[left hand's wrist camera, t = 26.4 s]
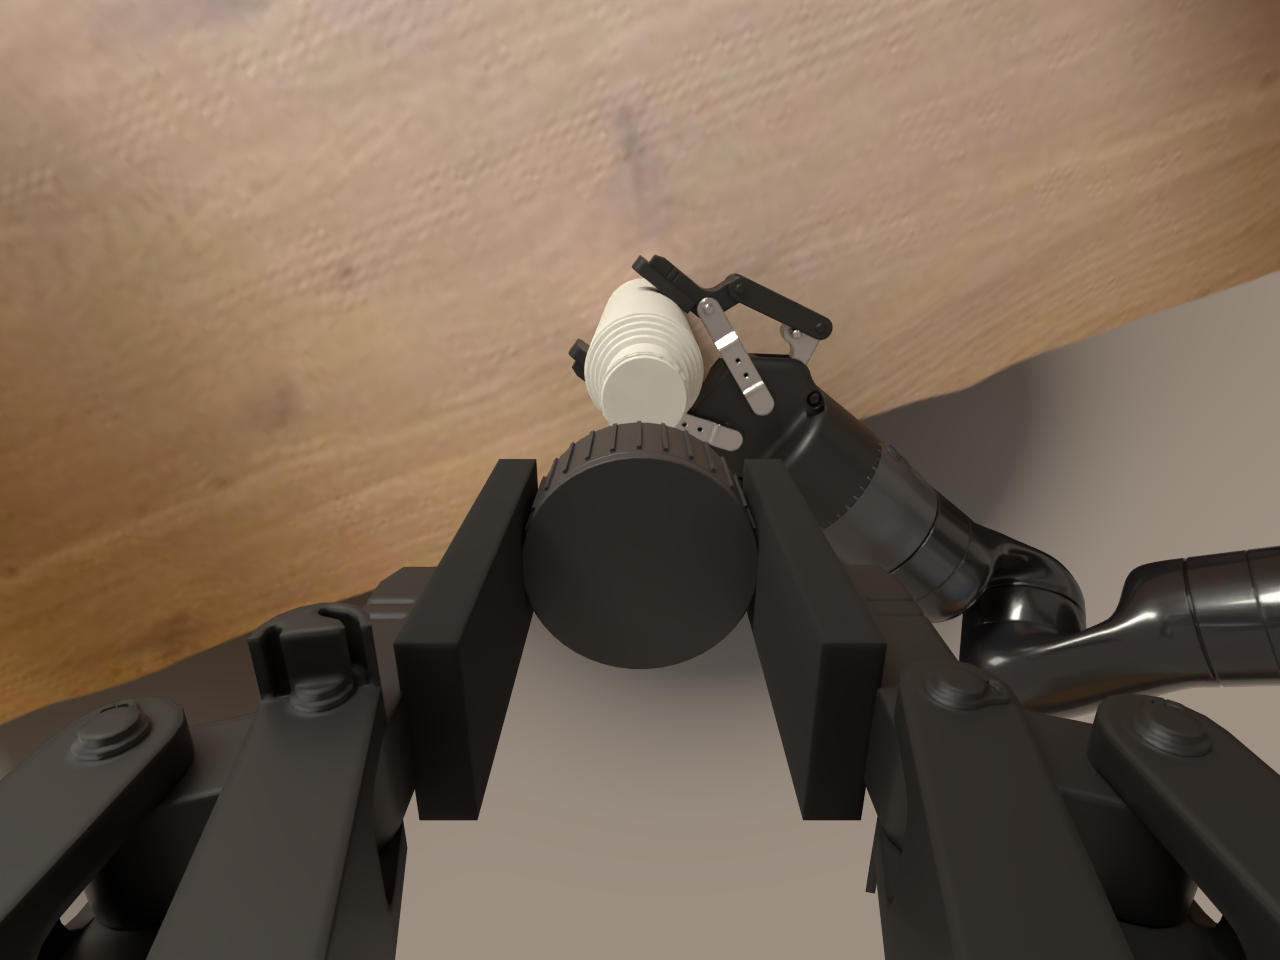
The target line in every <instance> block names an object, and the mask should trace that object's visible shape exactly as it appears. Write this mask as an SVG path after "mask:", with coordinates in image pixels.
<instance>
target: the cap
mask: <svg viewBox="0 0 1280 960" xmlns="http://www.w3.org/2000/svg"><path fill="white" fill-rule="evenodd" d="M755 530H756V526H755V524H754V521H753V518H752V516H751V513H750V510H749V507H748V504H747V502H746V499H745V496H744V494H743V491H742V488H741V486H740V483H739V480H738V477H737V476H736V475H734V476H733V474H732V473H731V471H730V469H729V468H728V466H727V463H726V460H725V458H724V457H723V456H722V457H720V456H719V455H718V454H717V453H716V452H715V451H714V450H713V449H712V448H710V446H709V443H708V442H706V441H705V442H703V441H701V440H700V439H698V438H696V437H694V436H693V435H691V434H689V432H688V431H687V430H684V431H682V430H679V429H677V428H674V427H670V426H666V424H665V423H661V424H655V423H641V421H637V422H634V423H625V424H618V425H617V423H615V424H613V426H610V427H606V428H604V429H601V430H599V431H596V432H595V431H594V430H593V431H591V432H590V435H588V436H586V437H584V438H582V439H581V440H579V441H578V442H577V443H574V442H573V443H571V444H570V447H569V449H568V450H567V451H566V452H565V453H564V454H563V455H562V456H560V458H559V459H557V458H556V459H555V460H554V462H553V465H552V468H551V470H550V472H549V473H548V475H547V477H544V476H543V478H542V481H541V483H540V486H539V489H538V491H537V494H536V497H535V500H534V502H533V505H532V508H531V514H530V517H529V519H528V522H527V525H526V527H525V537H524V541H523V545H522V560H523V575H524V588H525V592H526V595H527V597H528V600H529V602H530V604H531V606H532V608H533V610H534V612H535V614H536V615H537V617H538V618H539V619H540V621H541V622H542V624H543V625H544V626H545V627H546V628H547V629H548V631H549V632H550V633H551V634H552V635H553V636H554V637H555V638H557V639H558V640H559V641H560V642H561V643H563V644H564V645H565V646H567V647H568V648H570V649H571V650H573V651H575V652H576V653H578V654H580V655H582V656H584V657H586V658H588V659H591V660H593V661H596V662H599V663H602V664H606V665H610V666H614V667H620V668H629V669H652V668H661V667H666V666H671V665H675V664H678V663H681V662H684V661H687V660H690V659H692V658H694V657H696V656H698V655H701V654H702V653H704V652H706V651H707V650H709V649H711V648H712V647H714V646H715V645H716V644H718V643H719V642H720V641H721V640H723V639H724V638H725V637H726V636H727V635H728V634H729V633H730V632H731V631H732V630H733V629H734V628H735V627H736V625H737V624H738V623H739V621H740V620H741V619H742V617H743V616H744V614H745V612H746V611H747V609H748V607H749V605H750V603H751V601H752V598H753V596H754V593H755V591H756V581H757V567H758V551H759V549H758V543H757V539H756V535H755V532H754V531H755Z"/></svg>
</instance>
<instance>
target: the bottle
mask: <svg viewBox="0 0 1280 960" xmlns="http://www.w3.org/2000/svg"><path fill="white" fill-rule="evenodd" d="M584 375H585V382H586V386H587V390H588V392H589V395H590V397H591V399H592V401H593V402H594V404H595V405H596V407H597V408H598V409H599V410H600V411H601V412H602V413H603V415H604V417H605V418H606V420H607V421H608V423H609V424H610V426H613V424H615V423H617V425H618V424H625V423H634V422H637V421H641V423H655V424H661V423H665V424H666V426H670V427H674V428H677V427H678V426H679V425H680V424H681V422H682V421H683V419H684V417H685V415H686V414H687V411H688V410H689V409H690V408H691V407H692V405H693V404H694V402H695V401H696V399H697V397H698V395H699V393H700V390H701V387H702V382H703V375H704V367H703V359H702V355H701V352H700V349H699V347H698V344H697V342H696V340H695V337H694V335H693V333H692V330H691V328H690V326H689V324H688V321H687V319H686V317H685V314H684V312H683V310H682V309H681V308H680V307H679V306H678V305H677V304H676V303H674V302H673V301H672V300H671V299H669V298H668V297H667V296H665V295H664V294H663V293H662V292H661V291H659V290H658V289H657V288H656V287H654V286H653V285H652V284H651V283H650V282H648V281H647V280H646V279H643V278H641V279H635V280H631V281H629V282H626V283H624V284H623V285H621V286H620V287H619V288H617V289H616V290H615V291H614V293H613V294H612V295H611V297H610V298H609V300H608V302H607V305H606V307H605V310H604V312H603V315H602V317H601V320H600V322H599V325H598V327H597V330H596V332H595V335H594V337H593V340H592V342H591V345H590V347H589V350H588V352H587V356H586V360H585V367H584Z"/></svg>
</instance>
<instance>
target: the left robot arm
mask: <svg viewBox="0 0 1280 960" xmlns="http://www.w3.org/2000/svg"><path fill="white" fill-rule="evenodd" d="M537 491H538V481H537V464H536V459H499V461H498V463H497V464H496V466H495V468H494V469H493V471H492V473H491V475H490V476H489V478H488V480H487V482H486V483H485V485H484V487H483V489H482V490H481V492H480V494H479V495H478V497H477V499H476V501H475V502H474V504H473V506H472V508H471V509H470V511H469V513H468V515H467V516H466V518H465V520H464V521H463V523H462V525H461V527H460V528H459V530H458V532H457V534H456V535H455V537H454V539H453V541H452V542H451V544H450V546H449V547H448V549H447V551H446V553H445V554H444V556H443V558H442V560H441V561H440V563H439V565H438V567H403V568H401V569H400V570H398V571H397V572H395V573H394V574H392V575H391V576H389V577H388V578H386V579H385V580H383V581H382V582H380V584H379V585H378V586H377V588H376V589H375V591H374V592H373V593H372V595H371V596H370V598H369V599H368V604H365V605H364V606H363V608H361V607H359V606H356V605H351V604H347V603H319V604H313V605H308V606H303V607H298V608H296V609H293V610H290V611H288V612H285V613H282V614H280V615H277V616H275V617H274V618H272V619H270V620H269V621H267V622H266V623H264V624H262V625H261V626H259V627H258V628H257V629H256V630H255V631H254V633H253V634H252V635H251V636H250V637H249V638H248V644H249V648H250V653H251V657H252V661H253V665H254V670H255V674H256V678H257V682H258V686H259V690H260V695H261V699H262V700H261V702H260V705H259V707H258V709H257V711H256V712H254V713H250V714H247V715H243V716H239V717H234V718H229V719H224V720H219V721H215V722H210V723H205V724H200V725H195V726H190V727H188V724H187V720H186V717H185V713H184V710H183V707H181V706H180V705H179V704H178V703H177V702H175V701H174V700H173V699H168V698H161V697H156V696H152V697H142V698H132V699H127V700H122V701H118V702H117V703H111V704H108V705H105V706H102V707H100V708H98V709H97V710H94V711H92V712H90V713H88V714H86V715H84V716H82V717H79V718H77V719H76V720H74V721H73V722H71V723H70V724H68V725H67V726H65V727H64V728H62V729H61V730H60V731H58V732H57V733H55V734H54V735H53V736H51V737H50V738H49V739H48V740H47V741H46V742H44V743H43V744H42V745H41V746H40V747H39V748H37V749H36V750H35V751H34V752H33V753H32V754H30V755H29V756H28V757H27V758H26V759H25V760H24V761H22V762H21V763H20V764H19V765H18V766H16V767H15V768H14V769H13V770H12V771H11V772H10V773H8V774H7V775H6V776H5V777H4V778H3V779H1V780H0V960H395V954H396V945H397V936H398V927H399V918H400V909H401V900H402V891H403V882H404V873H405V864H406V855H407V842H406V836H405V829H404V823H403V818H404V815H405V813H406V810H407V807H408V805H409V802H410V800H411V797H412V795H413V792H414V790H415V793H416V800H417V806H418V813H419V820H478V816H479V812H480V809H481V805H482V801H483V797H484V794H485V790H486V786H487V782H488V779H489V775H490V771H491V768H492V764H493V760H494V756H495V752H496V749H497V745H498V741H499V738H500V734H501V730H502V727H503V723H504V719H505V716H506V712H507V708H508V704H509V701H510V697H511V693H512V689H513V686H514V682H515V678H516V675H517V671H518V667H519V663H520V660H521V656H522V652H523V649H524V645H525V641H526V637H527V634H528V630H529V626H530V622H531V619H532V615H533V611H534V610H533V608H532V606H531V604H530V602H529V600H528V597H527V595H526V592H525V588H524V575H523V560H522V545H523V541H524V537H525V527H526V525H527V522H528V519H529V517H530V514H531V508H532V505H533V502H534V500H535V497H536V494H537ZM742 491H743V494H744V496H745V499H746V502H747V504H748V507H749V510H750V513H751V516H752V518H753V521H754V524H755V526H756V530H755V531H754V532H755V535H756V539H757V543H758V549H759V551H758V567H757V581H756V591H755V593H754V596H753V598H752V601H751V603H750V605H749V607H748V609H747V613H748V617H749V621H750V624H751V628H752V632H753V636H754V639H755V643H756V647H757V651H758V654H759V658H760V662H761V665H762V669H763V673H764V677H765V680H766V684H767V688H768V691H769V695H770V699H771V703H772V706H773V710H774V714H775V718H776V721H777V725H778V729H779V732H780V736H781V740H782V744H783V747H784V751H785V755H786V758H787V762H788V766H789V770H790V773H791V777H792V781H793V784H794V788H795V792H796V796H797V799H798V803H799V807H800V810H801V814H802V818H803V820H861V816H862V809H863V803H864V796H865V790H866V788H867V790H868V793H869V795H870V798H871V800H872V803H873V805H874V808H875V810H876V813H877V815H878V817H877V823H876V829H875V835H874V842H873V848H872V854H871V860H870V866H869V873H868V879H867V886H866V892H870V893H875V890H876V884H877V889H878V898H879V908H880V917H881V926H882V935H883V944H884V953H885V960H1280V775H1279V774H1278V773H1276V772H1275V771H1274V770H1273V769H1272V768H1271V767H1269V766H1268V765H1267V764H1266V763H1265V762H1263V761H1262V760H1261V759H1260V758H1259V757H1258V756H1256V755H1255V754H1254V753H1253V752H1252V751H1251V750H1249V749H1248V748H1247V747H1246V746H1245V745H1244V744H1242V743H1241V742H1240V741H1239V740H1238V739H1237V738H1235V737H1234V736H1233V735H1232V734H1231V733H1229V732H1228V731H1227V730H1225V729H1224V728H1222V727H1221V726H1220V725H1218V724H1217V723H1215V722H1214V721H1212V720H1211V719H1209V718H1208V717H1206V716H1205V715H1202V714H1200V713H1198V712H1196V711H1194V710H1192V709H1190V708H1187V707H1185V706H1184V705H1182V704H1180V703H1177V702H1174V701H1171V700H1168V699H1167V700H1165V699H1164V698H1160V697H1155V696H1150V695H1140V694H1130V693H1125V694H1120V695H1114V696H1109V697H1107V698H1106V699H1105V700H1104V701H1102V702H1101V703H1100V704H1099V705H1098V708H1097V712H1096V715H1095V719H1094V722H1093V724H1090V723H1085V722H1081V721H1076V720H1071V719H1066V718H1061V717H1056V716H1051V715H1046V714H1042V713H1038V712H1034V711H1031V710H1027V709H1023V708H1022V706H1021V704H1020V701H1019V699H1018V698H1017V696H1016V695H1015V694H1014V692H1013V691H1012V690H1011V688H1010V687H1009V686H1008V685H1007V684H1006V683H1004V682H1003V681H1002V680H1000V679H999V678H997V677H996V676H995V675H993V674H992V673H990V672H988V671H986V670H983V669H981V668H979V667H976V666H974V665H972V664H969V663H965V662H960V661H958V660H957V659H956V657H955V656H954V654H953V653H952V652H951V650H950V649H949V647H948V646H947V645H946V643H945V642H944V640H943V639H942V638H941V636H940V635H939V633H938V632H937V631H936V629H935V628H934V626H933V625H932V624H931V622H930V621H929V619H928V618H927V617H926V616H924V612H923V611H922V610H921V608H920V607H919V605H918V604H917V603H916V601H913V597H912V596H911V594H910V593H909V591H908V590H907V589H906V587H905V586H904V584H903V583H902V582H901V580H900V579H898V578H897V577H895V576H894V575H892V574H890V573H889V572H887V571H886V570H884V569H883V568H881V567H880V566H878V565H842V564H841V562H840V560H839V559H838V557H837V555H836V554H835V552H834V550H833V548H832V547H831V545H830V543H829V541H828V540H827V538H826V536H825V534H824V533H823V531H822V529H821V528H820V526H819V524H818V522H817V521H816V519H815V517H814V515H813V514H812V512H811V510H810V508H809V507H808V505H807V503H806V502H805V500H804V498H803V496H802V495H801V493H800V491H799V489H798V488H797V486H796V484H795V482H794V481H793V479H792V477H791V476H790V474H789V472H788V470H787V469H786V467H785V465H784V463H783V462H782V460H781V459H744V472H743V490H742ZM1198 887H1199V888H1200V889H1201V890H1202V891H1203V892H1204V894H1205V895H1206V896H1207V897H1208V898H1209V899H1210V901H1211V902H1212V903H1213V904H1214V905H1215V906H1216V907H1217V909H1218V910H1219V911H1220V912H1221V913H1222V918H1221V920H1220V922H1219V923H1215V922H1214V921H1213V920H1212V919H1211V918H1210V917H1209V916H1208V915H1207V914H1206V913H1205V912H1204V911H1203V910H1202V909H1201V907H1200V906H1199V905H1198V904H1197V903H1196V901H1195V900H1194V899H1193V898H1194V896H1195V893H1196V891H1197V888H1198ZM83 890H84V892H85V894H86V897H87V899H88V902H87V904H86V905H85V906H84V907H83V908H82V910H81V911H80V912H79V913H78V914H77V916H75V917H74V918H73V919H72V920H71V921H70V922H69V923H67V924H66V925H65V926H64V925H63V924H62V923H61V921H60V917H61V916H62V915H63V914H64V912H65V911H66V910H67V909H68V908H69V906H70V905H71V904H72V903H73V902H74V901H75V899H76V898H77V897H78V896H79V895H80V894H81V892H82V891H83Z"/></svg>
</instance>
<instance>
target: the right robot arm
mask: <svg viewBox="0 0 1280 960" xmlns="http://www.w3.org/2000/svg"><path fill="white" fill-rule="evenodd" d="M632 268H633V269H634V270H635V271H636V272H637V273H639V274H640V275H641V276H642V277H643V278H645V279H646V280H647V281H648V282H650V283H651V284H652V285H653V286H654V287H656V288H657V289H658V290H659V291H661V292H662V293H663V294H664V295H665V296H667V297H668V298H669V299H671V300H672V301H673V302H674V303H676V304H677V305H678V306H679V307H680V308H681V309H683V310H684V311H685V312H686V313H689V311H691V312H693V313H694V314H695V315H696V316H697V317H699V318H700V319H701V321H702V322H703V324H704V326H705V328H706V329H707V331H708V333H709V335H710V336H711V338H712V340H713V342H714V343H715V345H716V347H717V349H718V350H719V352H720V354H721V356H722V357H723V358H722V359H721V358H720V357H719V359H718V360H717V361H716V362H715V363H714V365H713V366H712V367H711V369H710V371H709V373H708V375H707V377H706V380H705V381H704V382H703V383H702V387H701V390H700V393H699V395H698V397H697V399H696V401H695V402H694V404H693V405H692V407H691V408H690V409H689V410H688V411H687V414H686V415H685V417H684V419H683V421H682V422H681V424H680V425H679V426H678V427H677V429H679V430H682V431H684V430H687V431H688V432H689V434H691V435H693V436H694V437H696V438H698V439H700V440H701V441H703V442H705V441H706V442H708V443H709V446H710V448H712V449H713V450H714V451H715V452H716V453H717V454H718V455H719V456H720V457H722V456H723V457H724V458H725V460H726V463H727V466H728V468H729V469H730V471H731V473H732V474H733V476H734V475H736V476H737V477H738V480H739V483H740V486H741V488H742V490H743V472H744V459H781V460H782V462H783V463H784V465H785V467H786V469H787V470H788V472H789V474H790V476H791V477H792V479H793V481H794V482H795V484H796V486H797V488H798V489H799V491H800V493H801V495H802V496H803V498H804V500H805V502H806V503H807V505H808V507H809V508H810V510H811V512H812V514H813V515H814V517H815V519H816V521H817V522H818V524H819V526H820V528H821V529H822V531H823V533H824V534H825V536H826V538H827V540H828V541H829V543H830V545H831V547H832V548H833V550H834V552H835V554H836V555H837V557H838V559H839V560H840V562H841V564H842V565H878V566H880V567H881V568H883V569H884V570H886V571H887V572H889V573H890V574H892V575H894V576H895V577H897V578H898V579H900V580H901V582H902V583H903V584H904V586H905V587H906V589H907V590H908V591H909V593H910V594H911V596H912V597H913V601H916V603H917V604H918V605H919V607H920V608H921V610H922V611H923V612H924V616H926V617H927V618H928V619H929V621H930V622H943V621H947V620H950V619H953V618H955V617H957V616H959V615H961V614H963V619H962V631H961V644H960V655H959V661H960V662H965V663H969V664H972V665H974V666H976V667H979V668H981V669H983V670H986V671H988V672H990V673H992V674H993V675H995V676H996V677H997V678H999V679H1000V680H1002V681H1003V682H1004V683H1006V684H1007V685H1008V686H1009V687H1010V688H1011V690H1012V691H1013V692H1014V694H1015V695H1016V696H1017V698H1018V699H1019V701H1020V704H1021V706H1022V708H1023V709H1027V710H1031V711H1034V712H1038V713H1042V714H1046V715H1051V716H1056V717H1061V718H1066V719H1071V718H1075V717H1079V716H1083V715H1087V714H1091V713H1094V712H1097V708H1098V705H1099V704H1100V703H1101V702H1102V701H1104V700H1105V699H1106V698H1107V697H1109V696H1114V695H1120V694H1125V693H1130V694H1140V695H1150V696H1155V697H1156V696H1160V695H1164V694H1168V693H1172V692H1176V691H1180V690H1185V689H1190V688H1201V687H1220V686H1221V685H1222V686H1223V687H1246V686H1280V546H1274V547H1266V548H1258V549H1249V550H1247V551H1246V550H1242V551H1234V552H1227V553H1218V554H1211V555H1203V556H1195V557H1188V558H1187V559H1185V558H1179V559H1171V560H1164V561H1158V562H1153V563H1148V564H1145V565H1141V566H1139V567H1137V568H1135V569H1134V570H1132V571H1131V572H1130V574H1129V575H1128V577H1127V578H1126V581H1125V584H1124V586H1123V590H1122V594H1121V597H1120V601H1119V604H1118V606H1117V608H1116V610H1115V612H1114V613H1113V615H1112V616H1111V617H1110V618H1109V619H1107V620H1105V621H1103V622H1102V623H1100V624H1097V625H1095V626H1092V627H1090V628H1088V629H1086V614H1085V602H1084V598H1083V594H1082V591H1081V589H1080V587H1079V585H1078V583H1077V582H1076V580H1075V579H1074V577H1073V576H1072V575H1071V573H1070V572H1069V571H1068V570H1067V569H1066V568H1065V567H1064V566H1063V565H1062V564H1061V563H1060V562H1059V561H1058V560H1056V559H1055V558H1053V557H1052V556H1050V555H1048V554H1047V553H1045V552H1043V551H1040V550H1038V549H1036V548H1033V547H1031V546H1029V545H1026V544H1024V543H1022V542H1019V541H1017V540H1015V539H1012V538H1010V537H1008V536H1006V535H1004V534H1001V533H999V532H997V531H994V530H991V529H988V528H986V527H983V526H981V525H979V524H976V523H974V522H973V521H972V520H971V519H970V518H969V517H968V516H966V515H965V514H964V513H963V512H962V511H961V510H959V509H958V508H957V507H956V506H954V505H953V504H952V503H951V502H950V501H948V500H947V499H946V498H945V497H944V496H942V495H941V494H940V493H939V492H938V491H936V490H935V489H934V488H933V487H932V486H930V485H929V484H928V483H927V482H926V481H925V480H924V479H923V477H922V476H921V475H920V474H919V473H918V472H917V470H916V469H915V468H914V467H913V466H912V465H911V464H910V463H909V462H908V461H907V460H906V459H904V458H903V457H902V456H901V455H900V454H899V453H898V452H897V451H896V450H895V449H894V448H893V447H892V446H891V445H889V444H887V443H885V442H884V441H883V440H882V439H881V438H879V437H878V436H877V435H876V434H875V433H873V432H872V431H870V429H868V428H867V427H866V426H865V425H864V424H862V423H861V422H860V421H859V420H858V419H856V418H855V417H854V416H853V415H852V414H850V413H849V412H848V411H847V410H846V409H844V408H843V407H842V406H841V405H840V404H838V403H837V402H836V401H835V400H833V399H832V398H831V397H830V396H829V395H827V394H826V393H825V392H824V391H823V390H821V389H820V388H819V387H818V386H817V385H816V384H815V383H814V381H813V379H812V377H811V374H810V371H809V369H808V367H807V366H806V365H807V363H808V361H809V359H810V357H811V356H812V354H813V352H814V350H815V348H816V346H817V345H818V343H819V341H820V340H823V339H826V338H827V337H828V336H829V335H830V334H831V332H832V323H831V321H830V320H829V319H828V318H826V317H824V316H822V315H821V314H819V313H817V312H815V311H813V310H811V309H809V308H807V307H805V306H803V305H801V304H799V303H797V302H794V301H792V300H790V299H788V298H786V297H784V296H782V295H780V294H778V293H776V292H774V291H772V290H770V289H768V288H766V287H764V286H762V285H760V284H758V283H756V282H753V281H751V280H749V279H747V278H745V277H743V276H741V275H739V274H731V275H729V276H728V277H727V278H726V279H725V280H724V281H723V282H721V283H720V284H718V285H716V286H715V287H713V288H709V289H705V288H701V287H699V286H698V285H697V284H696V283H694V282H693V281H692V280H691V279H690V278H688V277H687V276H686V275H685V274H684V273H682V272H681V271H680V270H679V269H678V268H676V267H675V266H674V265H673V264H671V263H670V262H669V261H668V260H667V259H665V258H664V257H661V256H658V255H654V256H653V257H652V259H651V260H650V261H649V262H648V261H647V260H646V259H645V258H643V257H642V256H641V255H640V256H639V257H638V258H637V260H636V261H635V262H634V264H633V265H632ZM738 303H742V304H744V305H746V306H748V307H750V308H752V309H754V310H756V311H758V312H760V313H762V314H764V315H766V316H769V317H771V318H773V319H775V320H777V321H779V322H781V323H782V325H781V327H780V334H781V336H782V338H783V339H785V340H786V341H787V342H788V343H789V345H790V353H789V355H780V354H753V353H747V352H746V350H745V349H744V347H743V345H742V343H741V341H740V340H739V338H738V336H737V335H736V333H735V331H734V330H733V328H732V326H731V324H730V322H729V321H728V319H727V317H726V315H725V313H724V312H725V311H726V310H728V309H730V308H731V307H733V306H734V305H736V304H738ZM589 347H590V346H589V345H588V344H586V343H585V342H584V341H582V340H580V339H578V340H577V341H576V342H575V344H574V345H573V346H572V348H571V349H570V351H569V355H570V356H571V357H572V358H573V359H574V360H575V362H574V364H573V366H572V368H573V370H574V371H575V373H576V375H577V376H578V377H580V378H581V379H582V380H584V381H585V375H584V367H585V360H586V356H587V352H588V350H589ZM682 423H684V424H682Z"/></svg>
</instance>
